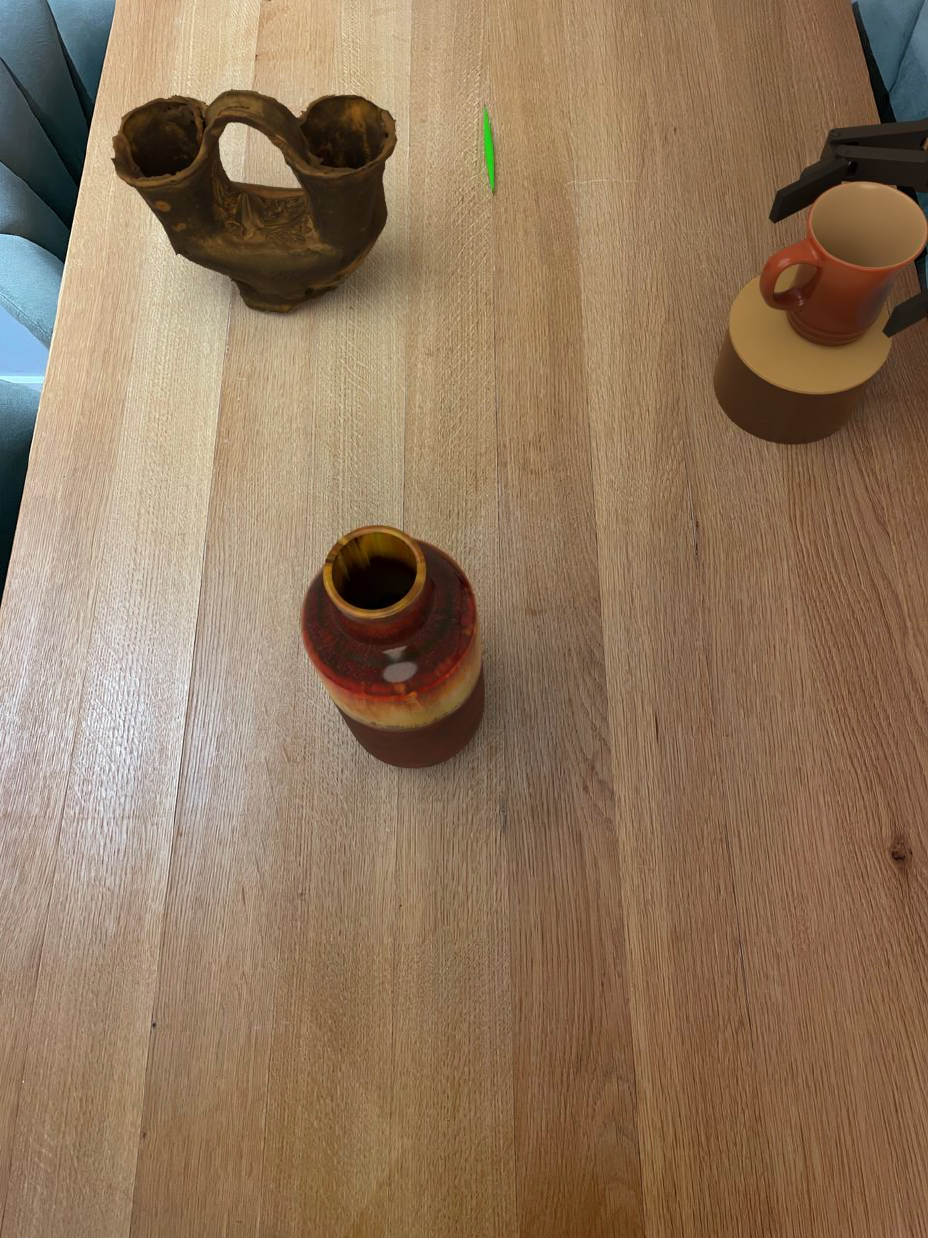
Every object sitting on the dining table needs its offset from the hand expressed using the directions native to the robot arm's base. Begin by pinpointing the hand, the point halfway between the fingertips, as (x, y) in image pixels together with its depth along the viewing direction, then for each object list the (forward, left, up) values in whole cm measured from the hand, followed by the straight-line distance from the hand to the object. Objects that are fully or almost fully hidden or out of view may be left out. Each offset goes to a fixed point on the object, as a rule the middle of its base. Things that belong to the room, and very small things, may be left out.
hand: (831, 263), depth 72 cm
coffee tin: (-1, -1, -16) cm, 16 cm away
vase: (+29, +33, -16) cm, 47 cm away
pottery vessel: (+47, -11, -16) cm, 51 cm away
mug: (0, -1, -8) cm, 8 cm away
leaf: (+29, -29, -16) cm, 44 cm away
